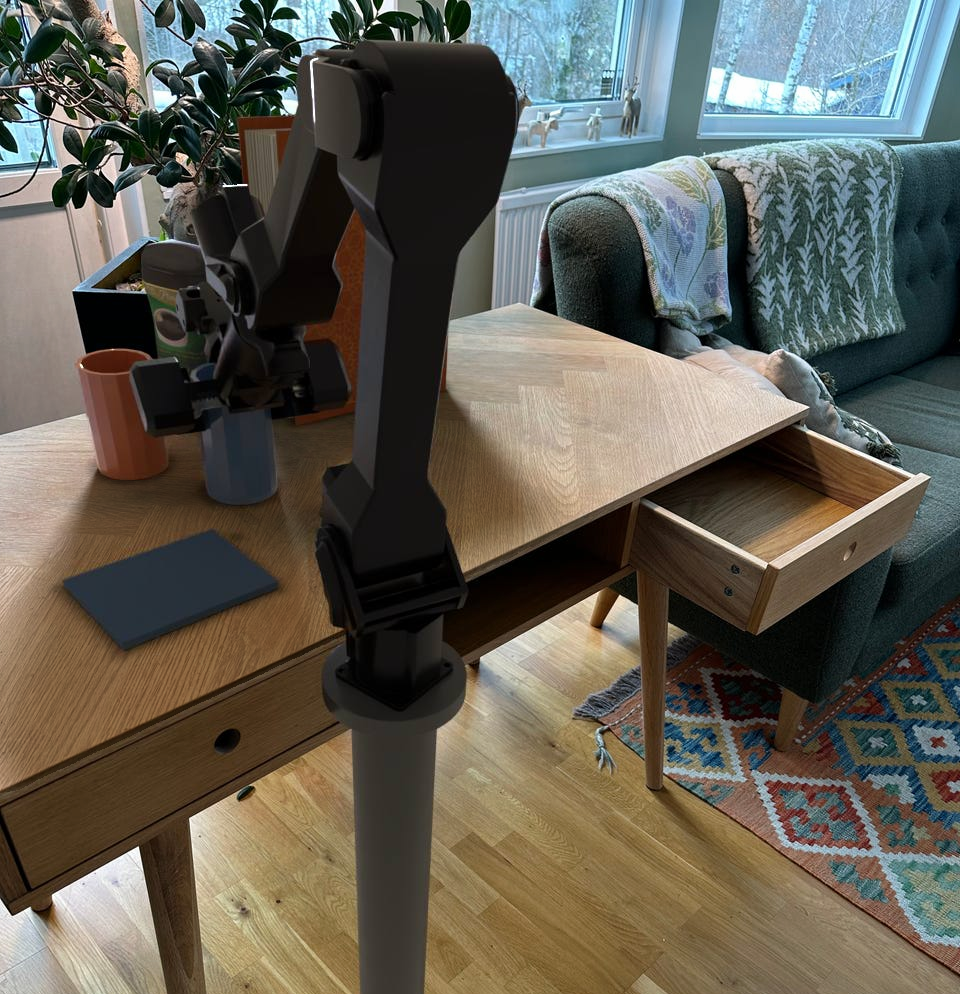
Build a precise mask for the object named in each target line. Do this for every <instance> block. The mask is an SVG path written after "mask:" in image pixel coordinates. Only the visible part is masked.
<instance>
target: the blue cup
mask: <svg viewBox="0 0 960 994" xmlns="http://www.w3.org/2000/svg"><path fill="white" fill-rule="evenodd" d="M214 369H215V366H214V363H210V364H208V363H206V364H203V365H200V366H198V367H197V368H195V369H194V370H192V372H191V376H190V378H191V382H196V381H203V380H211V379H213V374H214ZM208 399H209V400H210V398H208ZM213 399H215V397H214V398H213ZM218 399H219V397H218ZM204 400H205V401H206V399H204ZM200 401H201V399H200ZM201 416H202V419H203V422H204V426H205V429H206V431H204V432H198V433H197V436H198V441H199V449H200V456H201V463H202V471H203V478H204V485H205V489H206V493H207V495H208V496H209V497H210V499H213V501H216V502H219V503H222V504H226V505H233V506H245V505H246V506H247V505H254V504H258V503H261V502H264V501H266V500H268V499H270V498H272V496H274V495H275V494H276V492H277V490H278V473H277V472H278V471H277V461H276V449H275V437H274V436H275V435H274V423H273V421H272V410H271V408H268V409H262V410H255V411H249V412H242V413H236V414H230V413H229V410H228V407H223V408H216V409H209V410H203V411H202V413H201Z"/></svg>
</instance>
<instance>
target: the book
mask: <svg viewBox="0 0 960 994" xmlns="http://www.w3.org/2000/svg"><path fill="white" fill-rule="evenodd" d="M294 117H295V115H271V116H270V115H268V116H239V117H238V116H237V118H236V119H237V130H238V131H237V132H238V143H239V153H240V165H241V166H240V167H241V174H242V175H241V177H242V185H247V186H248V188H249V191H250V194H251V195H252V196H254V197H256V198H257V199H258V200H259V201H260V202H261V204H262V207H263V210H264V213H265V214H266V213H267V210H268V206H269V203H270V200H271V196H272V193H273V189H274V186H275V182H276V179H277V175H278V172H279V168H280V165H281V161H282V158H283V155H284V151H285V148H286V144H287V141H288V137H289V134H290V130H291V127H292V123H293V120H294ZM365 249H366V229H365V226H364V224H363V222H362V221H361V219H360V217H359V215H358V213H357V211H356V209H355V210H354V213H353V215H352V217H351V220H350V222H349V224H348V227H347V229H346V231H345V234H344V236H343V238H342V241H341V243H340V245H339V248H338V250H337V253H336V257H335V262H336V264H337V267H338V270H339V273H340V276H341V279H342V282H343V286H342V289H341V296H340V301H339V303H338V305H337V307H336V310H335V313H334V316H333V317H332V319H331V320H330V321H329V322H327V323H321V324H312V325H306V334H305V336H304V338H303V341H309V340H317V339H325V338H329V339H330V340H331V341H332V342H334V343H335V344H336V345H337V346H338V347H339V350H340V353H341V356H342V359H343V363H344V366H345V369H346V372H347V375H348V378H349V381H350V384H351V396H350V398H349V400H348V401H347V403H346V404H345V406H344V407H343V408H340V409H333V410H327V411H321V412H320V413H316V414H310V415H304V416H298V417H294V425H295V426H301V425H305V424H309V423H313V422H317V421H321V420H325V419H329V418H333V417H338V416H342V415H346V414H350V413H355V407H356V391H357V375H358V359H359V344H360V328H361V312H362V296H363V280H364V264H365ZM448 348H449V336H448V337H447V344H446V351H445V358H444V366H443V373H442V380H441V387H440V392H443V391H446V389H447V375H448V373H447V372H448V353H449V352H448V351H449V350H448Z"/></svg>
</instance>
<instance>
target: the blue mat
mask: <svg viewBox="0 0 960 994" xmlns="http://www.w3.org/2000/svg"><path fill="white" fill-rule="evenodd" d="M61 582H62V585H63V588H64V589H65V590H66V591H67V592H68V593H69V594H70V595H71V597H73V599H74V600H75V601H76V602H77V603H78V604H79V605H80V606H81V607H82V608H83V609H84V610H85V611H86V613H88V614H89V615H90V616H91V618H92V619H93V620H95V621H96V623H97V624H98V625H99V626H100V627H101V628H102V629H103V631H105V632H106V633H107V635H109V637H110V638H111V639H112V640H113V641H114V642H115V643H116V644H117V645H118V646H119V647H120V648H121V649H122V650H123V651H126V650H129V649H132V648H133V647H136V646H138V645H141V644H144V643H146V642H148V641H151V640H153V639H156V638H159V637H162V636H164V635H166V634H168V633H171V632H173V631H176V630H178V629H181V628H184V627H185V626H188V625H190V624H191V625H192V624H193V623H195V622H199V621H200V620H203V619H205V618H209V617H211V616H213V615H215V614H218V613H220V612H223V611H225V610H228V609H231V608H233V607H235V606H238V605H241V604H243V603H245V602H248V601H250V600H252V599H255V598H258V597H260V596H263V595H265V594H268V593H269V592H273V591H275V590H277V589H279V580H277V578H275V577H274V576H272V575H271V574H270V573H268V572H267V571H266V570H265V569H264V568H262V567H261V566H259V564H257V563H256V562H255V561H253V560H252V559H251V558H249V557H248V556H247V555H246V554H245V553H243V552H242V551H241V550H240V549H239V548H237V547H236V546H235V545H233V544H232V543H230V542H229V541H228V540H227V539H226V538H224V537H223V536H222V535H220V533H219V532H217V531H215V530H214V529H213V528H211V529H208V530H205V531H201V532H199V533H196V534H193V535H190V536H187V537H184V538H181V539H178V540H175V541H172V542H169V543H166V544H164V545H161V546H157V547H155V548H152V549H149V550H146V551H143V552H140V553H137V554H134V555H132V556H129V557H125V558H123V559H119V560H117V561H114V562H111V563H108V564H105V565H102V566H99V567H96V568H93V569H91V570H88V571H84V572H81V573H79V574H76V575H73V576H70V577H67V578H64V579H62V581H61Z"/></svg>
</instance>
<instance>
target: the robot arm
mask: <svg viewBox="0 0 960 994" xmlns="http://www.w3.org/2000/svg"><path fill="white" fill-rule="evenodd" d="M295 82H296V85H295V86H296V98H297V107H296V110H295V113H294V116H295V117H294V120H293V123H292V127H291V130H290V134H289V137H288V141H287V144H286V148H285V151H284V155H283V158H282V161H281V165H280V168H279V172H278V175H277V179H276V182H275V186H274V189H273V193H272V196H271V200H270V203H269V206H268V210H267V213H266V214H265V213H264V210H263V207H262V204H261V202H260V201H259V200H258V199H257V198H256V197H254V196H252V195H251V194H250V191H249V188H248V186H247V185H243V184H237V185H234V184H233V185H222V187H221V191H220V193H219V194H216V195H214V196H211V197H208V198H206V199H205V200H204V201H201V203H200V204H198V205H197V206H196V207H195V208H193V209H192V210H191V212H190V222H191V224H192V227H193V230H194V233H195V236H196V239H197V242H198V246H200V249H201V252H202V255H203V258H204V261H205V264H206V265H205V267H206V277H207V282H202V283H200V284H198V286H189V287H187V289H179V290H178V292H177V296H176V312H177V316H178V318H179V321H180V323H181V325H182V327H183V330H184V331H185V332H186V333H187V332H197V333H198V335H202V334H204V335H205V338H206V345H205V349H204V352H205V355H206V358H207V362H208V364H210V363H214V366H215V369H214V374H213V379H211V380H203V381H196V382H191V381H190V378H189V375H188V372H187V368H180V366H179V362H178V361H177V360H176V358H175V357H169V358H160V359H158V358H152V360H144V361H136V362H134V363H133V365H132V367H131V368H130V371H129V380H130V383H131V386H132V390H133V393H134V396H135V399H136V402H137V406H138V409H139V412H140V415H141V418H142V422H143V425H144V428H145V431H146V433H147V434H149V435H150V436H152V437H154V438H157V437H164V436H166V437H170V436H174V435H175V436H183V435H184V436H185V435H192V434H198V432H204V431H206V429H205V426H204V422H203V419H202V416H201V413H202V411H203V410H209V409H216V408H223V407H228V410H229V413H230V414H236V413H242V412H249V411H255V410H262V409H268V408H271V410H272V422H273V421H278V420H284V419H285V420H286V419H291V418H295V417H298V416H304V415H310V414H316V413H320V412H321V411H327V410H333V409H340V408H343V407H344V406H345V404H346V403H347V401H348V400H349V398H350V396H351V384H350V381H349V378H348V375H347V372H346V369H345V366H344V363H343V359H342V356H341V353H340V350H339V347H338V346H337V345H336V344H335V343H334V342H332V341H331V340H330V339H329V338H325V339H317V340H309V341H303V338H304V336H305V334H306V325H312V324H321V323H327V322H329V321H330V320H331V319H332V317H333V316H334V313H335V310H336V307H337V305H338V303H339V301H340V296H341V289H342V286H343V282H342V279H341V276H340V273H339V270H338V267H337V264H336V262H335V257H336V253H337V250H338V248H339V245H340V243H341V241H342V238H343V236H344V234H345V231H346V229H347V227H348V224H349V222H350V220H351V217H352V215H353V213H354V210H355V209H356V211H357V213H358V215H359V217H360V219H361V221H362V222H363V224H364V226H365V229H366V249H365V264H364V280H363V296H362V312H361V328H360V344H359V359H358V375H357V391H356V407H355V412H354V425H353V442H352V455H351V460H350V461H349V462H348V463H347V462H346V463H343V464H337V465H332V466H328V467H326V468H325V470H324V472H323V474H322V476H321V478H320V479H321V505H320V509H319V512H318V515H319V517H320V519H321V521H320V527H318V529H317V532H316V540H315V541H314V545H315V549H316V550H315V552H314V556H315V559H316V563H317V566H318V569H319V573H320V574H319V575H320V578H321V583H322V584H321V585H322V588H323V595H324V597H325V599H326V602H327V606H328V615H329V617H328V619H329V623H330V624H331V626H332V627H335V628H338V629H343V630H345V641H346V654H347V656H348V657H350V659H349V660H347V661H346V662H345V663H343V664H342V665H340V666H339V667H337V668H336V669H335V676H336V677H337V678H338V679H340V680H341V681H343V682H345V683H347V684H349V685H350V686H352V687H354V688H356V689H357V690H359V691H361V692H363V693H364V694H366V695H368V696H370V697H372V698H373V699H375V700H377V701H379V702H380V703H382V704H384V705H386V706H388V707H389V708H391V709H393V710H395V711H397V712H402V711H404V710H406V709H407V708H408V707H409V706H411V705H412V704H413V703H414V702H416V701H417V700H418V699H419V698H421V697H422V696H423V695H424V694H425V693H427V692H428V691H429V690H430V689H432V688H433V687H434V686H435V685H437V684H438V683H439V682H440V681H442V680H443V679H444V678H445V677H446V676H448V675H449V674H450V673H451V672H452V671H453V663H452V662H450V661H448V660H446V659H444V658H442V657H441V656H442V641H443V633H444V632H443V631H444V615H445V614H444V612H447V611H450V610H454V609H455V610H459V609H461V608H464V605H465V603H466V600H467V597H468V595H469V587H468V584H467V581H466V578H465V575H464V573H463V569H462V566H461V564H460V560H459V558H458V555H457V552H456V548H455V545H454V543H453V540H452V537H451V534H450V531H449V528H448V525H447V519H448V518H447V517H448V510H447V508H446V506H445V504H444V503H443V501H442V499H441V497H440V496H439V493H438V492H437V491H436V489H435V487H434V486H433V484H432V483H431V481H430V479H429V477H430V475H429V472H430V464H431V457H432V450H433V444H434V443H433V442H434V436H435V429H436V421H437V414H438V408H439V401H440V394H441V391H440V387H441V380H442V373H443V366H444V358H445V351H446V344H447V337H448V338H449V330H450V321H451V316H452V310H453V309H452V308H453V300H454V293H455V288H456V287H455V286H456V280H457V273H458V265H459V259H460V256H461V253H462V251H463V249H464V248H465V247H466V245H467V244H468V243H469V242H470V240H471V239H472V237H473V236H474V235H475V234H476V232H477V231H478V230H479V229H480V227H481V226H482V224H483V223H484V222H485V221H486V220H487V218H488V217H489V216H490V214H491V213H492V211H493V210H494V208H495V207H496V206H497V204H498V202H499V200H500V197H501V193H502V190H503V185H504V182H505V178H506V173H507V171H508V167H509V162H510V159H511V155H512V152H513V147H514V144H515V140H516V137H517V134H518V128H519V123H520V101H519V97H518V93H517V88H516V86H515V84H514V82H513V80H512V79H511V76H509V75H508V74H506V71H505V69H504V67H503V64H502V62H501V60H500V58H499V56H498V55H497V53H496V52H495V51H494V50H493V49H492V48H491V47H490V46H489V45H485V44H482V43H471V42H469V43H468V42H438V41H415V40H414V41H411V40H385V39H382V40H381V39H363V40H362V41H360V42H358V43H357V44H356V45H355V47H354V49H334V48H333V49H331V48H317V49H316V50H314V51H313V52H312V53H311V54H305V55H302V56H301V58H300V60H299V62H298V65H297V70H296V81H295ZM214 397H215V399H213V398H214ZM218 397H219V399H218ZM208 398H210V400H209V399H208ZM200 399H201V401H200ZM204 399H206V401H205V400H204Z"/></svg>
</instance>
